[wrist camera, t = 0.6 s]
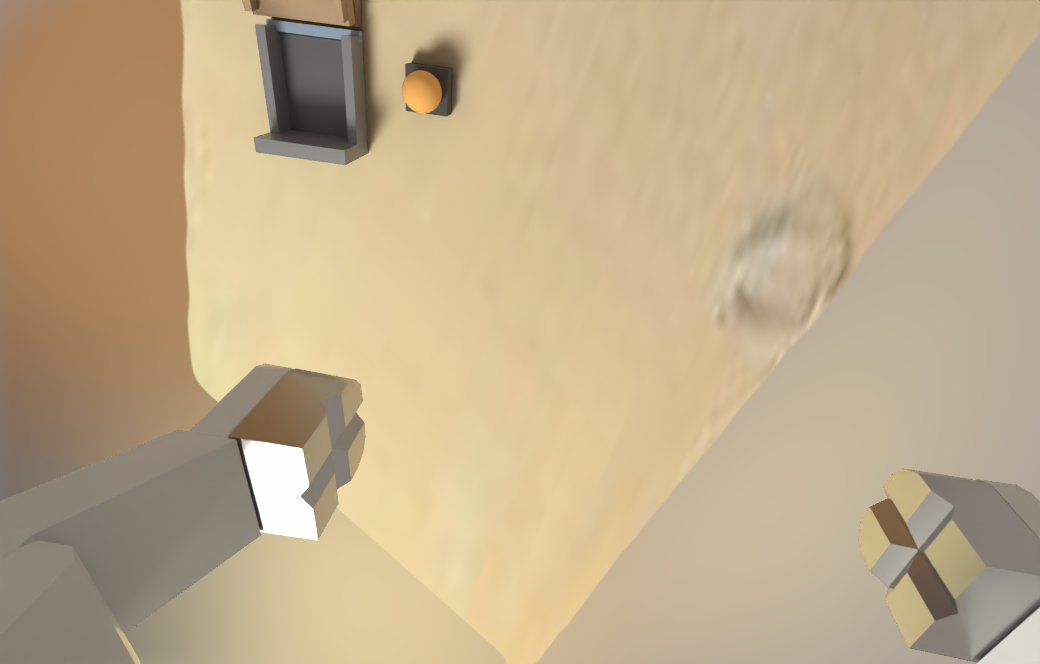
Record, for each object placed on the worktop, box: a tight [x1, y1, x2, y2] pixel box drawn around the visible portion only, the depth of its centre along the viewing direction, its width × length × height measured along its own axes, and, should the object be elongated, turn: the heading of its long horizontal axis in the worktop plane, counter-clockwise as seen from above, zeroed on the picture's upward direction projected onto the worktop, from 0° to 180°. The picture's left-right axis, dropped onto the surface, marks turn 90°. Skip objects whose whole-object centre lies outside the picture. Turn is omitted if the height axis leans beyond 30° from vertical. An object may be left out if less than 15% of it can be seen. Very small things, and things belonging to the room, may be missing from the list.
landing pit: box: [254, 19, 368, 165], centre depth 43 cm, size 10×8×5 cm
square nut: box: [405, 63, 452, 116], centre depth 43 cm, size 4×4×2 cm
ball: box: [402, 70, 442, 113], centre depth 41 cm, size 3×3×3 cm
